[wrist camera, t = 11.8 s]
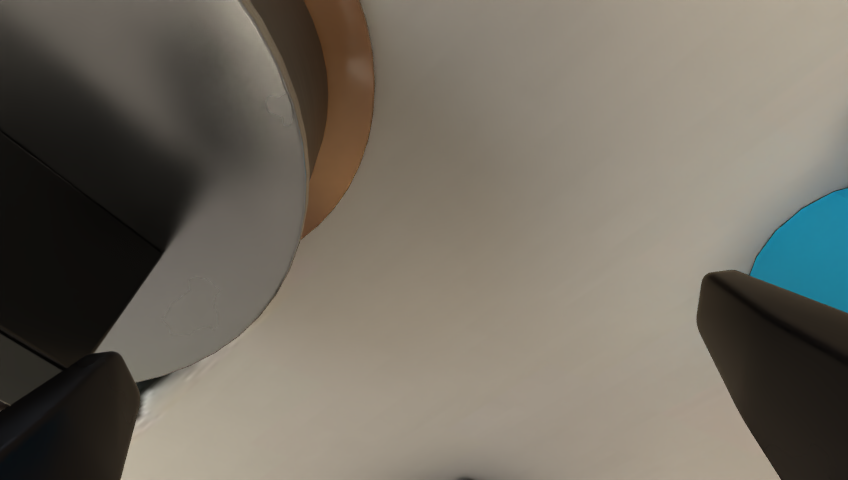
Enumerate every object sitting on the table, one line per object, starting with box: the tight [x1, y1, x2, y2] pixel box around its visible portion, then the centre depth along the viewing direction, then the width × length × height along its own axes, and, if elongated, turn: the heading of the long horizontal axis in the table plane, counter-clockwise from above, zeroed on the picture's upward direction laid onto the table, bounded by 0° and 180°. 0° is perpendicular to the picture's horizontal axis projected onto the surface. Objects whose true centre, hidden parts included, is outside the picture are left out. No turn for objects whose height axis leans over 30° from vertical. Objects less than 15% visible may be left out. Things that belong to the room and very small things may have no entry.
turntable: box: [301, 0, 375, 239], centre depth 18 cm, size 15×15×1 cm
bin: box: [0, 0, 328, 405], centre depth 13 cm, size 12×12×11 cm
